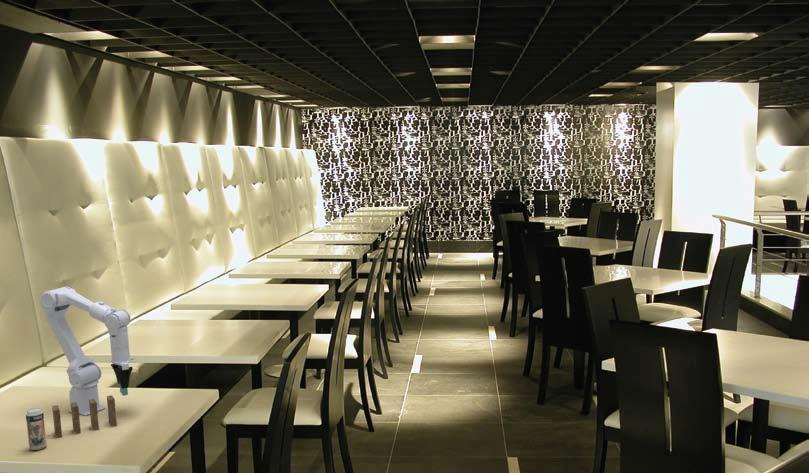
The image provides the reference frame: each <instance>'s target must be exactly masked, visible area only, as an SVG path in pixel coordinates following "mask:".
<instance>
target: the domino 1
mask: <svg viewBox="0 0 809 473" xmlns="http://www.w3.org/2000/svg"><path fill="white" fill-rule="evenodd" d="M51 408H52V419H53V428H54V435H55V437H56V438H55V439H60V438H63V433H62V431H63V430H62V420H61V413H60V412H61V410H60V408H59V405H57V404H55V405H52V406H51Z"/></svg>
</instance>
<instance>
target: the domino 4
mask: <svg viewBox="0 0 809 473" xmlns="http://www.w3.org/2000/svg"><path fill="white" fill-rule="evenodd" d="M106 402H107V414H108V415H107V416H108V423H109V425H110V426H111V428H113V427H118V423H117V412H116V411H117V410H116V399H115V398H114V396H113V395H112V394H111V395H107V396H106Z"/></svg>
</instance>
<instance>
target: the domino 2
mask: <svg viewBox="0 0 809 473" xmlns="http://www.w3.org/2000/svg"><path fill="white" fill-rule="evenodd" d="M70 410H71V411H72V412H71V421H72V429H73V432H74V435H79V434H81V423H80V420H81V419H80V414H79V409H78V405H77V403H76V402H72V403H71V407H70Z"/></svg>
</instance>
